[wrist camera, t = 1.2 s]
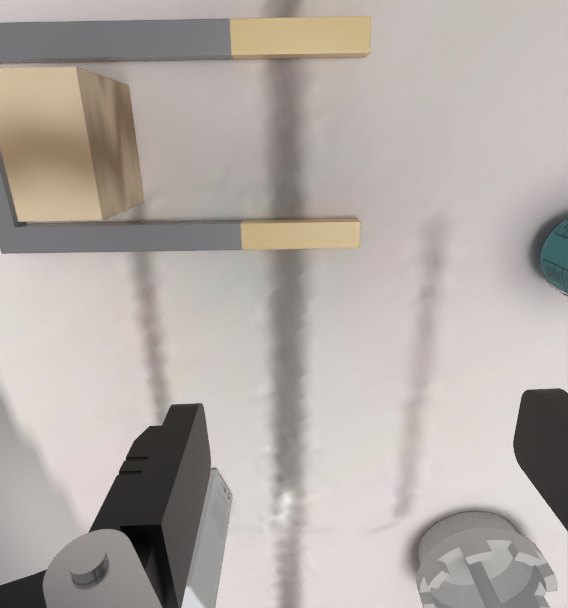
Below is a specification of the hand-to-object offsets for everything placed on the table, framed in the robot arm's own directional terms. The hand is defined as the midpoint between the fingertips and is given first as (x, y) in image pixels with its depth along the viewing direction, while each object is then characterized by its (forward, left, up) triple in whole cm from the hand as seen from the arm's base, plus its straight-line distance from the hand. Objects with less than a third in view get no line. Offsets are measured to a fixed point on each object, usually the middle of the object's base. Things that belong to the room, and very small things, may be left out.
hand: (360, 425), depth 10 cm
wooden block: (-7, -15, -24) cm, 29 cm away
